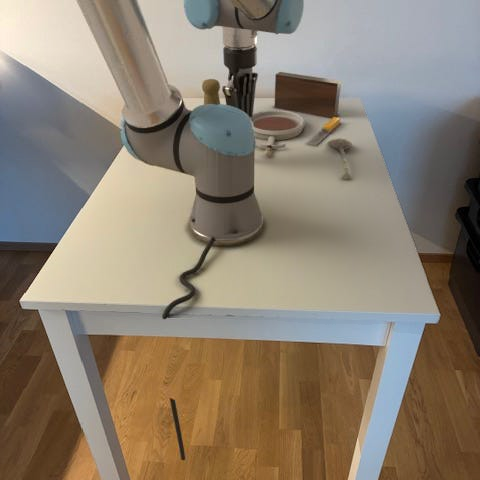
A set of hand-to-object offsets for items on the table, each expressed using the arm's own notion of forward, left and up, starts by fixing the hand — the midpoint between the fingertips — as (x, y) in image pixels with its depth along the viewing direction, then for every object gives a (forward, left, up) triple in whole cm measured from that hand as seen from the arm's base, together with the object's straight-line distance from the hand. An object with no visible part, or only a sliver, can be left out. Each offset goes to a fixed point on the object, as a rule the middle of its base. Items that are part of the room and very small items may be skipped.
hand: (241, 149), depth 123 cm
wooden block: (+40, 0, -3) cm, 41 cm away
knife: (+27, -12, -3) cm, 30 cm away
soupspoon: (+13, -22, -3) cm, 26 cm away
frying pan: (+18, 0, -3) cm, 18 cm away
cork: (+22, +23, -3) cm, 32 cm away
